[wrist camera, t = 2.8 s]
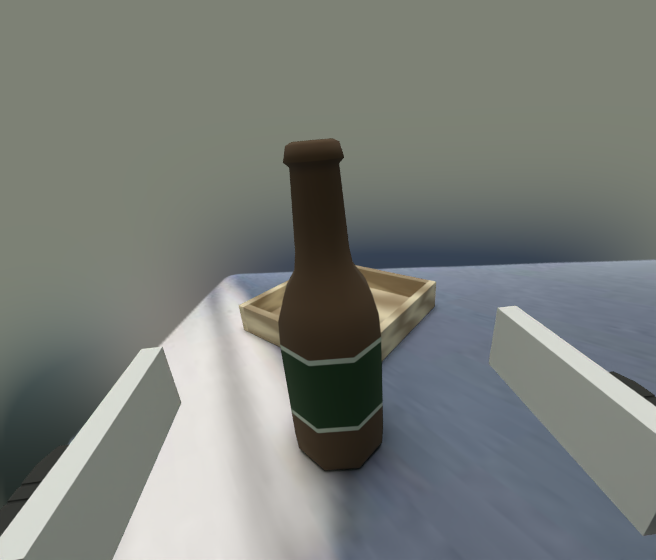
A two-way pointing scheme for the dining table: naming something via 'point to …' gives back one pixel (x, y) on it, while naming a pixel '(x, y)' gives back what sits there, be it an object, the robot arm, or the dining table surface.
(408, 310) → the oak tray
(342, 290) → the beer bottle
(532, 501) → the dining table surface
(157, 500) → the dining table surface
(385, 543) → the dining table surface
